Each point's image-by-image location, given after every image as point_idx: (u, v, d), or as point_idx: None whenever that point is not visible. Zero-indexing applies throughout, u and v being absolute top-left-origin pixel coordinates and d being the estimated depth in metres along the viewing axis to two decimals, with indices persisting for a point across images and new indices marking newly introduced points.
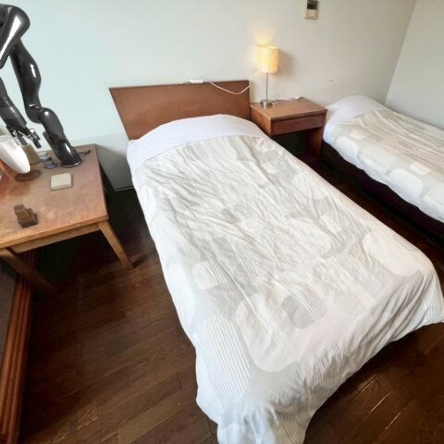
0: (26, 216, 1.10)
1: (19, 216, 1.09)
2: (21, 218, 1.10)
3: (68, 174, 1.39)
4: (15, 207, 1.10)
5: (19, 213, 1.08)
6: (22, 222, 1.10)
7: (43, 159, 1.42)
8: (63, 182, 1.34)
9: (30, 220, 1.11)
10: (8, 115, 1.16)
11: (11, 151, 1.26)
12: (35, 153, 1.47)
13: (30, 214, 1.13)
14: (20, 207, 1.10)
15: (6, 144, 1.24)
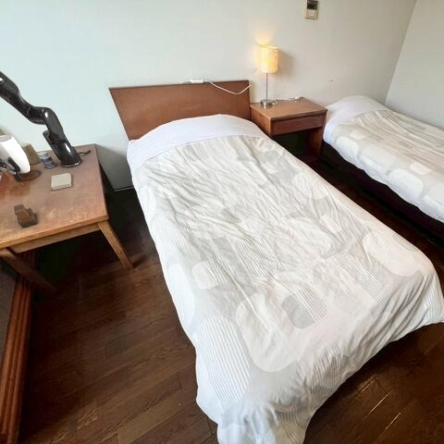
0: (26, 216, 1.10)
1: (19, 216, 1.09)
2: (21, 218, 1.10)
3: (68, 174, 1.39)
4: (15, 207, 1.10)
5: (19, 213, 1.08)
6: (22, 222, 1.10)
7: (43, 159, 1.42)
8: (63, 182, 1.34)
9: (30, 220, 1.11)
10: None
11: (11, 151, 1.26)
12: (35, 153, 1.47)
13: (30, 214, 1.13)
14: (20, 207, 1.10)
15: (6, 144, 1.24)
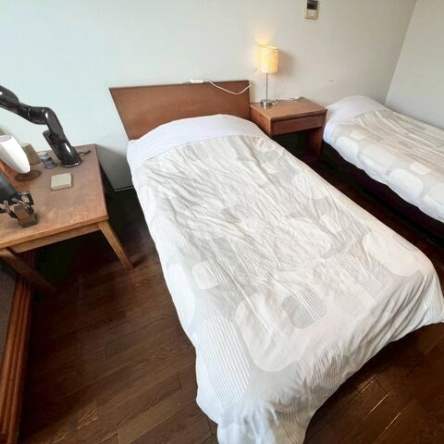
0: (26, 216, 1.10)
1: (19, 216, 1.09)
2: (21, 218, 1.10)
3: (68, 174, 1.39)
4: (15, 207, 1.10)
5: (19, 213, 1.08)
6: (22, 222, 1.10)
7: (43, 159, 1.42)
8: (63, 182, 1.34)
9: (30, 220, 1.11)
10: (4, 182, 1.00)
11: (11, 151, 1.26)
12: (35, 153, 1.47)
13: (30, 214, 1.13)
14: (20, 207, 1.10)
15: (6, 144, 1.24)
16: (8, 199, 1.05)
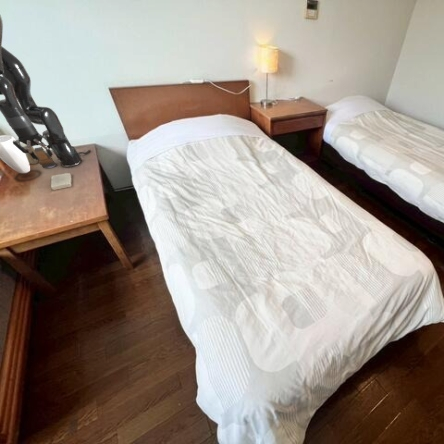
0: (45, 157, 1.24)
1: (39, 157, 1.22)
2: (41, 159, 1.23)
3: (68, 174, 1.39)
4: (36, 149, 1.23)
5: (39, 154, 1.22)
6: (42, 162, 1.23)
7: None
8: (63, 182, 1.34)
9: (49, 161, 1.24)
10: (27, 122, 1.13)
11: (11, 151, 1.26)
12: (35, 153, 1.47)
13: (49, 156, 1.26)
14: (40, 149, 1.23)
15: (6, 144, 1.24)
16: (30, 139, 1.18)
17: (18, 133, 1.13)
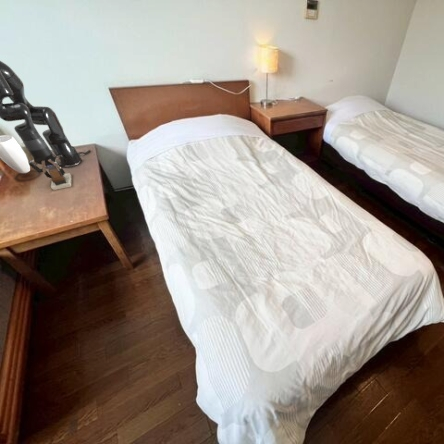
0: (58, 175, 1.31)
1: (53, 175, 1.29)
2: (54, 177, 1.30)
3: (68, 174, 1.39)
4: (49, 168, 1.30)
5: (53, 172, 1.28)
6: (55, 180, 1.30)
7: None
8: None
9: (61, 179, 1.31)
10: (43, 144, 1.20)
11: (11, 151, 1.26)
12: None
13: (61, 174, 1.33)
14: (53, 168, 1.30)
15: (6, 144, 1.24)
16: (45, 160, 1.25)
17: (34, 154, 1.20)
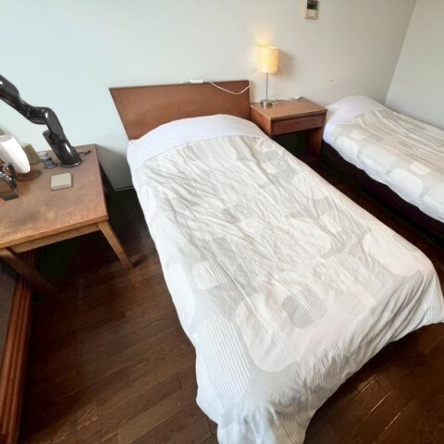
0: (7, 189, 1.03)
1: (0, 189, 1.01)
2: (2, 191, 1.02)
3: (68, 174, 1.39)
4: None
5: None
6: (3, 195, 1.02)
7: (43, 159, 1.42)
8: (63, 182, 1.34)
9: (12, 193, 1.03)
10: None
11: (11, 151, 1.26)
12: (35, 153, 1.47)
13: (12, 187, 1.05)
14: (1, 179, 1.02)
15: (6, 144, 1.24)
16: None
17: None
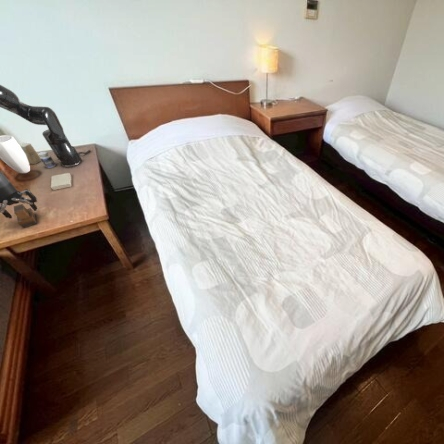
0: (26, 216, 1.10)
1: (19, 216, 1.09)
2: (21, 218, 1.10)
3: (68, 174, 1.39)
4: (15, 207, 1.10)
5: (19, 213, 1.08)
6: (22, 222, 1.09)
7: (43, 159, 1.42)
8: (63, 182, 1.34)
9: (30, 220, 1.11)
10: (3, 182, 1.00)
11: (11, 151, 1.26)
12: (35, 153, 1.47)
13: (30, 214, 1.13)
14: (20, 207, 1.10)
15: (6, 144, 1.24)
16: (8, 199, 1.05)
17: None
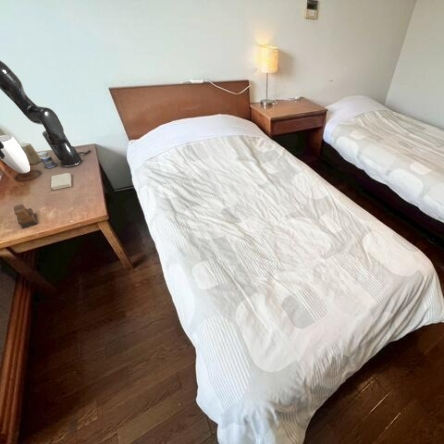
0: (26, 216, 1.10)
1: (19, 216, 1.09)
2: (21, 218, 1.10)
3: (68, 174, 1.39)
4: (15, 207, 1.10)
5: (19, 213, 1.08)
6: (22, 222, 1.09)
7: (43, 159, 1.42)
8: (63, 182, 1.34)
9: (30, 220, 1.11)
10: None
11: (11, 151, 1.26)
12: (35, 153, 1.47)
13: (30, 214, 1.13)
14: (20, 207, 1.10)
15: (6, 144, 1.24)
16: None
17: None
